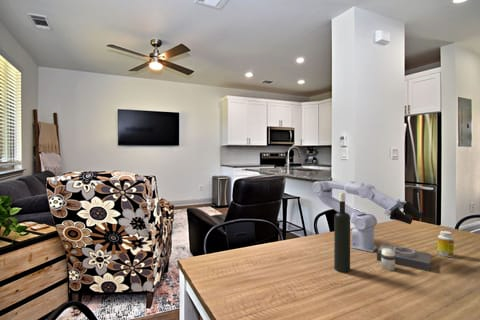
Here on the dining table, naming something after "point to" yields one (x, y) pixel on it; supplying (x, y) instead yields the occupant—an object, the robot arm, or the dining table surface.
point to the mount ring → (410, 254)
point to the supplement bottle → (445, 244)
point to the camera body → (409, 258)
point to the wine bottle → (342, 238)
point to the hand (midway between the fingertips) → (416, 219)
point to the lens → (388, 259)
